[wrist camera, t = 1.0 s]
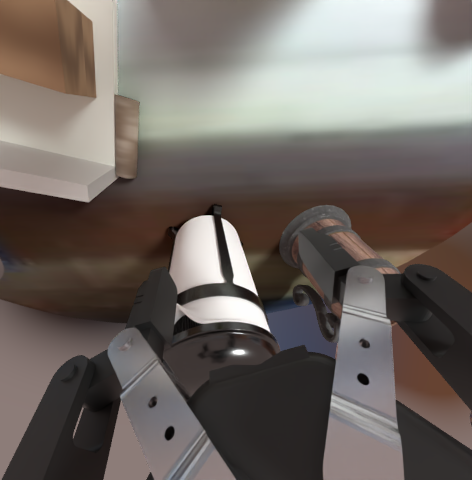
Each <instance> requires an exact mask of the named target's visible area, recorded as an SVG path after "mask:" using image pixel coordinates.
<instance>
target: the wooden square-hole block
mask: <svg viewBox="0 0 472 480" xmlns="http://www.w3.org/2000/svg"><path fill="white" fill-rule="evenodd" d="M0 74H2V75H5V76H9V77H12V78H15V79H19V80H22V81H25V82H29V83H32V84H35V85H38V86H42V87H45V88H48V89H52V90H55V91H58V92H62V93H65V94H71V95H79V96H86V97H93V98H96V80H95V61H94V41H93V22H92V21H91V20H90V19H89V18H88V17H87V16H85V15H84V14H83V13H82V12H81V11H80V10H78V9H77V8H76V7H75V6H74V5H73V4H71V3H70V2H69V1H68V0H0Z"/></svg>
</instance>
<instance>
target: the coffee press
mask: <svg viewBox="0 0 472 480" xmlns="http://www.w3.org/2000/svg"><path fill="white" fill-rule="evenodd" d="M221 210H222V206H221V205H217V204H214V206H213V210H212V215H205V216H199V217H195V218H193V219H191V220H189V221H187V222H186V223H185V224H184V225H183V226H182V227H181V228H180V229H177V228H176V227H169V230H168V235H169V236H170V237H171V239H172V240H173V245H172V251H171V256H170V262H169V267H168V272H169V274H170V275H171V277H172V279H173V281H174V282H175V284H176V287H177V291H178V296H177V305H176V313H175V322H174V331H173V340H172V348H168V349H164V351H163V358H164V359H165V360H166V362H167V363H168V365H169V366H170V367H171V369H172V370H173V372H174V373H175V374H176V376H177V377H178V379H179V380H180V381H181V383H182V384H183V386H184V387H185V388H186V389H187V391H188V392H189V393H190V394H191V396H192V395H193V394H194V393H195V391H196V390H197V389H198V388H199V387H200V386H201V385H202V384H204V383H205V382H206V381H208V380H209V379H210V378H209V371H211V370H215V369H219V368H222V367H226V366H229V365H259V364H261V363H263V362H264V361H266V360H268V359H269V358H271V357H272V356H274V355H276V354H277V353H279V352H280V348H279V345H278V342H277V340H276V339H275V337H274V336H273V335H272V334H271V333H270V330H269V327H268V318H267V315H266V312H265V309H264V306H263V303H262V301H261V300H260V298H259V297H258V294H257V291H256V288H255V285H254V282H253V279H252V276H251V273H250V270H249V267H248V264H247V261H246V258H245V255H244V252H243V249H242V246H243V243H242V242H241V241H240V240H239V237H238V234H237V232H236V230H235V228H234V227H233V226H232V225H231V224H230V223H229V222H228V221H226V220H224V219H222V218H221ZM175 235H176V238H175ZM174 240H175V243H174ZM173 246H174V248H173ZM172 252H173V254H172ZM171 257H172V260H171ZM170 263H171V265H170ZM169 269H170V271H169Z"/></svg>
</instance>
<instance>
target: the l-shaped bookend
mask: <svg viewBox="0 0 472 480" xmlns="http://www.w3.org/2000/svg"><path fill="white" fill-rule="evenodd" d="M68 1H69V2H70V3H71V4H73V5H74V6H75V7H76V8H77V9H78V10H80V11H81V12H82V13H83V14H84V15H85V16H87V17H88V18H89V19H90V20H91V21H92V22H93V41H94V61H95V80H96V98H93V97H86V96H79V95H71V94H65V93H62V92H58V91H55V90H52V89H48V88H45V87H42V86H38V85H35V84H32V83H29V82H25V81H22V80H19V79H15V78H12V77H9V76H5V75H2V74H0V187H5V188H10V189H16V190H22V191H27V192H33V193H38V194H44V195H50V196H55V197H61V198H67V199H72V200H78V201H84V202H90V201H91V200H92V199H93V198H95V197H96V196H97V195H98V194H99V193H101V192H102V191H103V190H104V189H105V188H107V187H108V186H109V185H110V184H111V183H113V182H114V181H115V180H116V179H117V178H119V176H117V175H116V152H115V94H116V95H118V0H68Z"/></svg>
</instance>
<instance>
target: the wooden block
mask: <svg viewBox="0 0 472 480" xmlns="http://www.w3.org/2000/svg"><path fill="white" fill-rule="evenodd" d="M139 103H140V102H138V101H135V100H132V99H129V98H126V97H123V96H119V95H116V94H115V152H116V175H117V176H120V177H123V178H130V179H132V178H136V177H137V156H138V129H139Z"/></svg>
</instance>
